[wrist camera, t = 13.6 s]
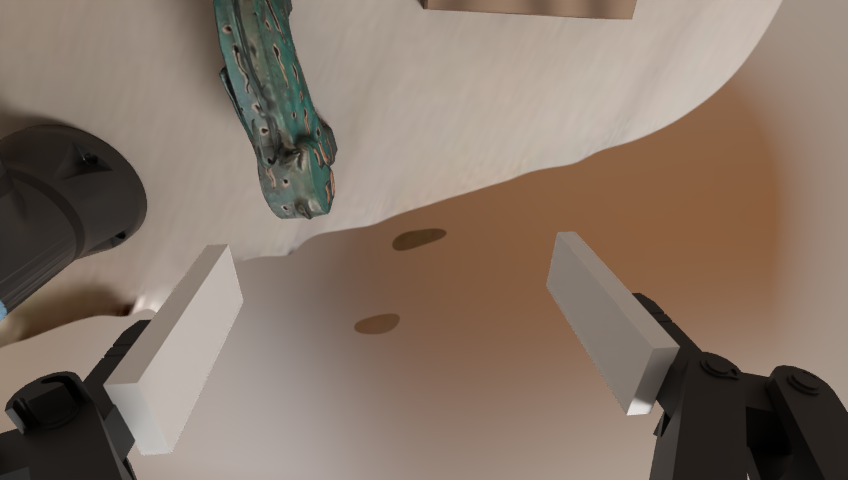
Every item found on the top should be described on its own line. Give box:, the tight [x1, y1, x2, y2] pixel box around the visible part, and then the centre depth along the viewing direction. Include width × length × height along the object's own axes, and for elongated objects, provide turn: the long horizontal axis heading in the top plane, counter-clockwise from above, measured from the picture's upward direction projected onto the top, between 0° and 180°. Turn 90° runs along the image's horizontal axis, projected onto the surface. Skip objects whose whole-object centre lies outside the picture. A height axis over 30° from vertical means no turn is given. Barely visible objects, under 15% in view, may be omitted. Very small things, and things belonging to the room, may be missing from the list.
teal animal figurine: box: [213, 0, 337, 220], centre depth 35 cm, size 20×6×20 cm, turn 9°
